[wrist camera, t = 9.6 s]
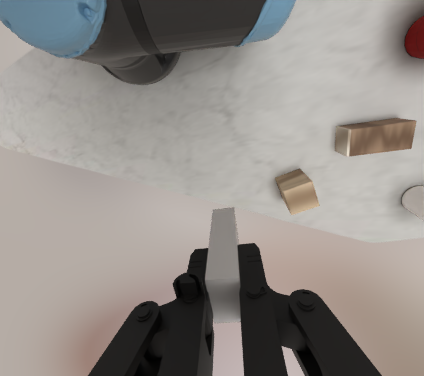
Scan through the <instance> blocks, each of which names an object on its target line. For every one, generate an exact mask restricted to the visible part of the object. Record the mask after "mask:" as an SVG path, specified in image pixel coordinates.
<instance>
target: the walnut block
mask: <svg viewBox="0 0 424 376" xmlns="http://www.w3.org/2000/svg"><path fill="white" fill-rule="evenodd" d="M415 126H416V121H415V120H407V119H400V118H393V119H386V120H379V121H372V122H365V123H358V124H350V125H343V126H336V140H335V151H337V152H338V153H340V154H342V155H344V156H346V157H348V156H356V155H364V154H372V153H380V152H388V151H396V150H404V149H411V148H412V142H413V137H414V131H415Z"/></svg>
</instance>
